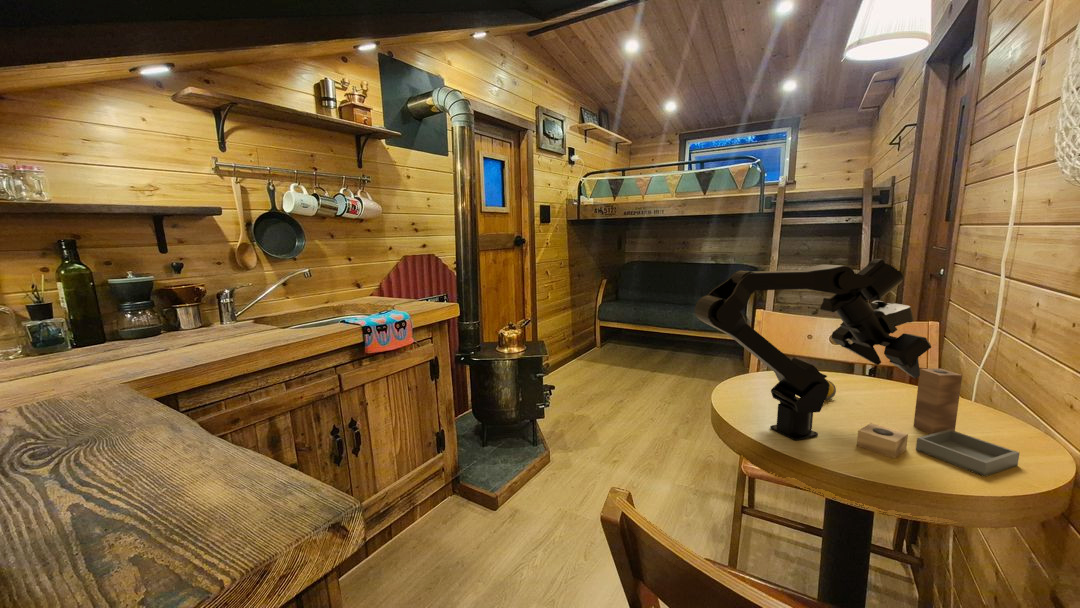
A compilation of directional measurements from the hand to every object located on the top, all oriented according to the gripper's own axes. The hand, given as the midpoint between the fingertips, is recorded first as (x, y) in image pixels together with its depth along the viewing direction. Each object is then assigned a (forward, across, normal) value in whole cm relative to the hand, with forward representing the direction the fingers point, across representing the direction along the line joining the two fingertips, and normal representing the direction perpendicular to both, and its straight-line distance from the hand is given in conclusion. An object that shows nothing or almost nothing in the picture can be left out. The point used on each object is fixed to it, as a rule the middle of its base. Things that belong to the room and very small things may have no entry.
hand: (897, 369), depth 87 cm
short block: (+5, -8, +15) cm, 18 cm away
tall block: (+15, -1, +2) cm, 15 cm away
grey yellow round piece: (+9, +17, +10) cm, 22 cm away
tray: (+12, -12, +6) cm, 18 cm away
